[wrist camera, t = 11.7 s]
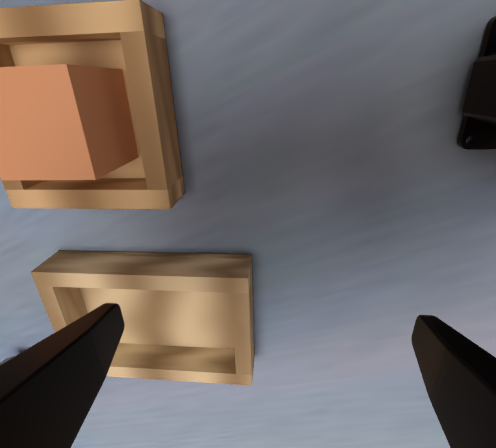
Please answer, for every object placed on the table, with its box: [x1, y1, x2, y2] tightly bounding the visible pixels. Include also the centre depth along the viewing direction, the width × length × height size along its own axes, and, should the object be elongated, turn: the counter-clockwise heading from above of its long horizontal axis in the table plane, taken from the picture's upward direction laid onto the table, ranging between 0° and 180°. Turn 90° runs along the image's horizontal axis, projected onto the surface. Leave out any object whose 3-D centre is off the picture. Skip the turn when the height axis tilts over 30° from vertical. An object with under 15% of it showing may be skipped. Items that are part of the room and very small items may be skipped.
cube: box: [0, 64, 139, 180], centre depth 16 cm, size 5×5×5 cm
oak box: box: [0, 0, 185, 209], centre depth 18 cm, size 10×10×3 cm
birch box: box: [31, 250, 255, 385], centre depth 24 cm, size 15×10×3 cm
